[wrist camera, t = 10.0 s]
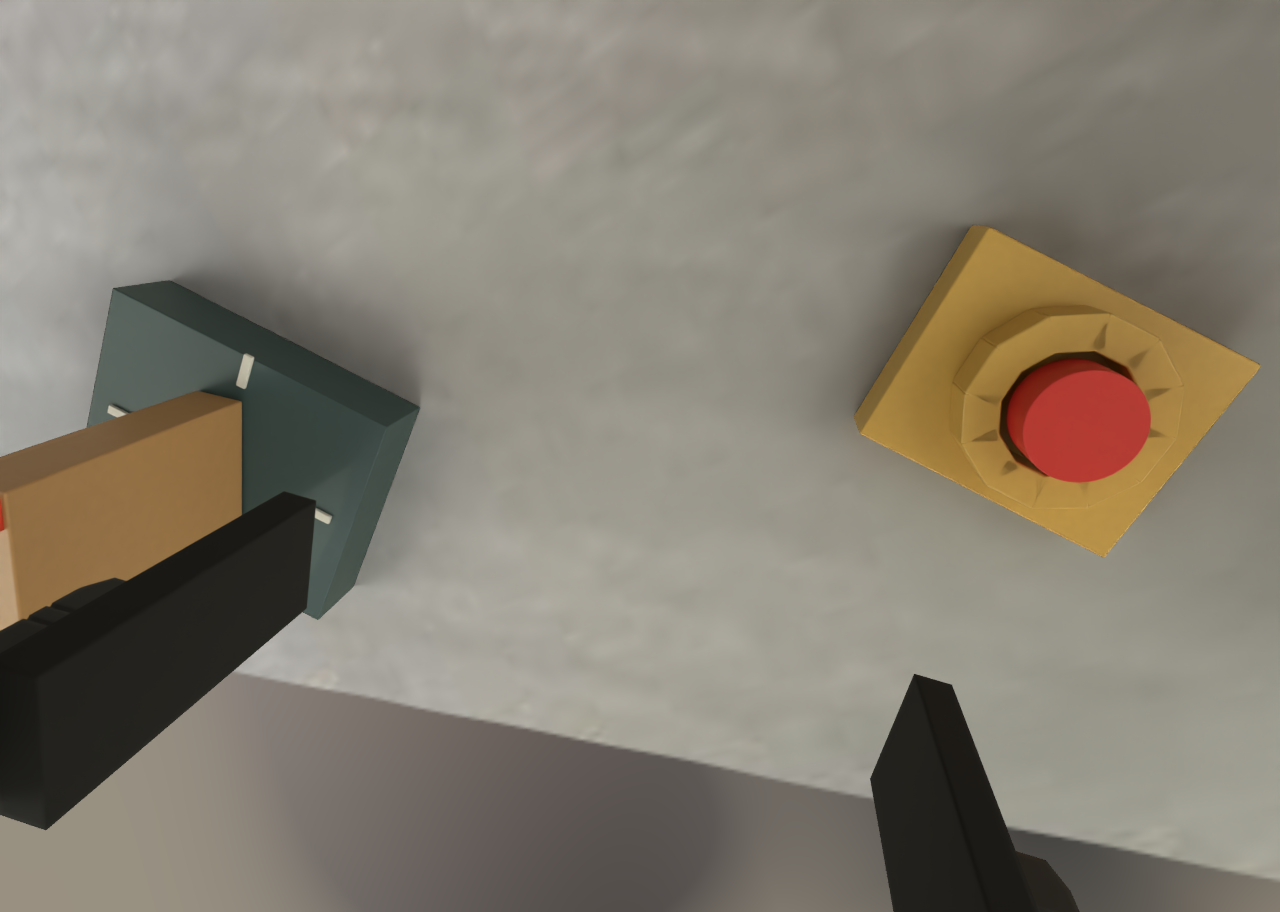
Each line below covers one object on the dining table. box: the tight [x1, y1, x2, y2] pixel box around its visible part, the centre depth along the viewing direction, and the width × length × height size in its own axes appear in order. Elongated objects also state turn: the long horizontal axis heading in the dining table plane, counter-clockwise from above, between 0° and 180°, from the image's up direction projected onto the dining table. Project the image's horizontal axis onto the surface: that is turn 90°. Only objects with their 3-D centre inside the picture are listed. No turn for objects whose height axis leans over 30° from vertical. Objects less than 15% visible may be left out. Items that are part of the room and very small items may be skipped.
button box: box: [854, 225, 1261, 557], centre depth 26 cm, size 10×8×4 cm
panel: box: [87, 280, 420, 620], centre depth 32 cm, size 12×10×3 cm
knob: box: [0, 391, 242, 631], centre depth 26 cm, size 6×2×10 cm, turn 169°
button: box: [1007, 358, 1151, 483], centre depth 24 cm, size 4×4×2 cm
